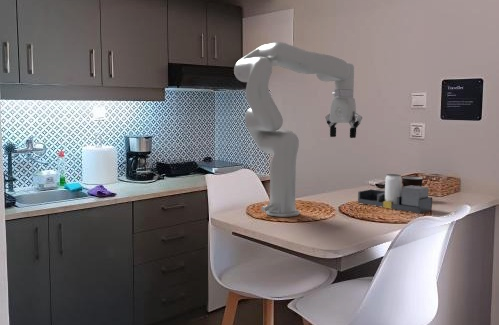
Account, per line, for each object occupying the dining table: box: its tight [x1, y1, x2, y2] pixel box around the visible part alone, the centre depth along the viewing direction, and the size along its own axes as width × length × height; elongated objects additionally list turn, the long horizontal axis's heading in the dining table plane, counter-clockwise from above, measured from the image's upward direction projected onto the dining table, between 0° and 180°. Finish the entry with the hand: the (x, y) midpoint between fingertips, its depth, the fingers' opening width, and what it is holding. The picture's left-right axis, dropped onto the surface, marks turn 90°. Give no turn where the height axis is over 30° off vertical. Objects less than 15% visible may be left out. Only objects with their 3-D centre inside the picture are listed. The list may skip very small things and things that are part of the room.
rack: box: [357, 185, 433, 214], centre depth 203 cm, size 10×28×9 cm, turn 44°
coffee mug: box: [401, 176, 424, 193], centre depth 219 cm, size 12×9×10 cm
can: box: [384, 173, 403, 204], centre depth 202 cm, size 6×6×12 cm
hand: (342, 137), depth 202 cm, fingers open, 9 cm apart
